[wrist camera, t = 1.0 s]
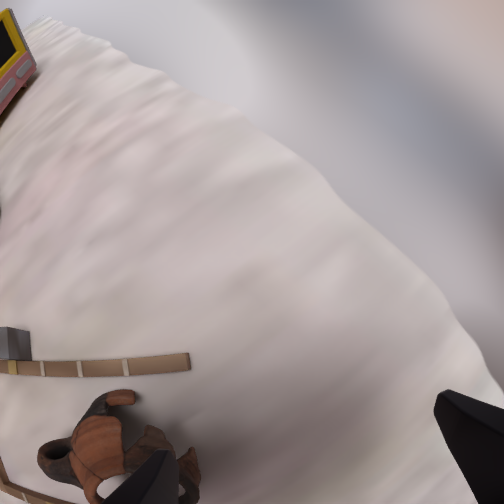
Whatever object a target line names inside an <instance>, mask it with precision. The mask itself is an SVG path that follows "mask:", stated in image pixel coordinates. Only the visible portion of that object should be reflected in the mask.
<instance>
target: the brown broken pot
mask: <svg viewBox="0 0 504 504" xmlns="http://www.w3.org/2000/svg"><path fill="white" fill-rule="evenodd" d="M134 395H135V392H134V391H133V390H125V389H123V390H115V391H111V392H108V393H105V394H103V395H101V396H99V397H98V398H97V399H96V400H95V401H94V402H93V403H92V405H91V406H90V408H89V409H88V411H87V412H86V413H85V415H84V416H83V417H82V418H81V420H80V421H79V423H78V424H77V426H76V427H75V429H74V431H73V434H72V436H71V437H68V438H64V439H57V440H53V441H50V442H48V443H46V444H44V445H43V446H41V447H40V448H39V450H38V456H37V462H38V465H39V466H40V468H41V469H42V470H43V472H44V473H45V474H46V475H47V476H48V477H49V478H51V479H53V480H55V481H58V482H62V483H67V484H72V485H75V486H77V487H79V488H81V489H83V490H84V494H85V497H86V499H87V500H88V502H89V503H90V504H101V503H102V502H103V501H104V500H105V499H104V498H102V497H100V496H99V495H98V493H97V491H96V490H97V487H98V486H99V484H100V483H101V482H103V481H104V480H106V479H108V478H110V477H113V476H117V475H121V474H125V473H134V472H135V471H136V470H137V469H138V468H139V467H140V466H141V465H142V464H143V463H144V462H145V461H146V460H147V459H148V458H149V457H150V456H151V455H152V454H153V453H154V451H155V450H157V449H169V450H170V451H171V452H172V454H173V455H174V457H175V459H176V453H175V451H174V449H173V446H172V445H171V444H170V443H169V442H168V441H167V439H166V438H165V435H164V433H163V431H162V430H160V429H158V428H156V427H154V426H152V425H146V426H145V429H144V436H143V437H141V438H140V439H139V440H138V441H137V442H136V443H135V445H134V446H132V447H131V448H130V449H128V450H127V451H124V448H123V443H122V424H121V423H120V421H119V420H118V419H117V418H116V417H114V416H108V413H107V409H108V407H109V406H115V405H133V404H135V396H134ZM177 462H178V464H179V484H181V485H182V486H183V488H184V489H185V491H186V492H185V494H184V495H182V496H180V497H178V504H197V503H198V500H199V499H200V496H199V488H198V486H199V482H200V480H201V474H200V470H199V467H198V462H197V456H196V452H195V449H194V448H193V447H190V448H189V450H188V452H187V453H186V454H185V455H183V456H182V457H181V458H179V459H178V460H177Z"/></svg>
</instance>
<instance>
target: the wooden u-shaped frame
mask: <svg viewBox="0 0 504 504" xmlns="http://www.w3.org/2000/svg"><path fill="white" fill-rule="evenodd" d="M0 359H9V360H0V373H9V374H17V375H18V374H21V375H36V376H59V377H101V376H130V375H143V374H156V373H167V372H177V371H186V370H190V369H191V365H190V359H189V354H188V353H182V354H173V355H164V356H155V357H144V358H132V359H118V360H100V361H66V362H44V361H16V360H32V357H31V347H30V333H29V331H24V330H19V329H15V328H10V327H0ZM0 489H1V491H3V492H5V493H8V494H10V495H12V496H14V497H16V498H19V499H21V500H23V501H25V502H26V503H31V504H74V503H70V502H67V501H63V500H59V499H56V498H53V497H49V496H46V495H43V494H40V493H37V492H34V491H31V490H29V489H26V488H23V487H21V486H18V485H16V484H13V483H11V482H9V479H8V477H7V474H6V472H5V469H4V466H3V463H2V461H1V458H0Z"/></svg>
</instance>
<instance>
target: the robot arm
mask: <svg viewBox="0 0 504 504" xmlns="http://www.w3.org/2000/svg"><path fill="white" fill-rule="evenodd" d="M434 416H435V418H436V420H437V423H438V425H439V427H440V430H441V432H442V434H443V437H444V439H445V441H446V444H447V446H448V448H449V450H450V451H451V453H452V455H453V457H454V459H455V460H456V462H457V464H458V466H459V468H460V469H461V471H462V473H463V475H464V477H465V479H466V481H467V482H468V484H469V486H470V488H471V490H472V492H473V494H474V496H475V498H476V500H477V502H478V504H504V409H502V408H499V407H496V406H493V405H490V404H487V403H485V402H482V401H479V400H476V399H474V398H471V397H468V396H466V395H463V394H460V393H458V392H455V391H452V390H449V389H447V390H445V391H443V392H440V393H439V394H438V395H437V399H436V403H435V406H434ZM178 492H179V464H178V462H177V460H176V459H175V457H174V455H173V454H172V452H171V451H170V450H169V449H157V450H155V451H154V453H153V454H152V455H151V456H150V457H149V458H148V459H147V460H146V461H145V462H144V463H143V464H142V465H141V466H140V467H139V468H138V469H137V470H136V471H135V472H134V473H132V474H131V475H130V476H129V477H128V478H127V479H126V480H125V481H124V482H123V483H122V484H121V485H120V486H119V487H118V488H117V489H116V490H115V491H114V492H113V493H111V494H110V495H109V496H108V497H107V498H106V499H105V500H104V501H103V502H102V503H101V504H178Z"/></svg>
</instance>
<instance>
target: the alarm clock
mask: <svg viewBox="0 0 504 504" xmlns="http://www.w3.org/2000/svg"><path fill="white" fill-rule="evenodd" d="M35 70H36V62H35V60H34V58H33V56H32V54H31V52H30V50H29V47H28V45H27V43H26V41H25V39H24V37H23V34H22V32H21V30H20V28H19V25H18V23H17V21H16V18H15V16H14V14H13V11H12V9H10V8H6V9H5V10H3V11H2V12H0V115H1V113H2V112H3V111H4V109H5V108H6V106H7V105H8V104H9V102H10V101H11V100H12V98H13V97H14V96H15V94H16V93H17V92H18V91H19V89H20V88H21V87H23V88H25V87H26V86H27V83H26V81H27V80H28V78H29V77H30V76H31V75H32V74H33V73H34V72H35Z"/></svg>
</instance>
